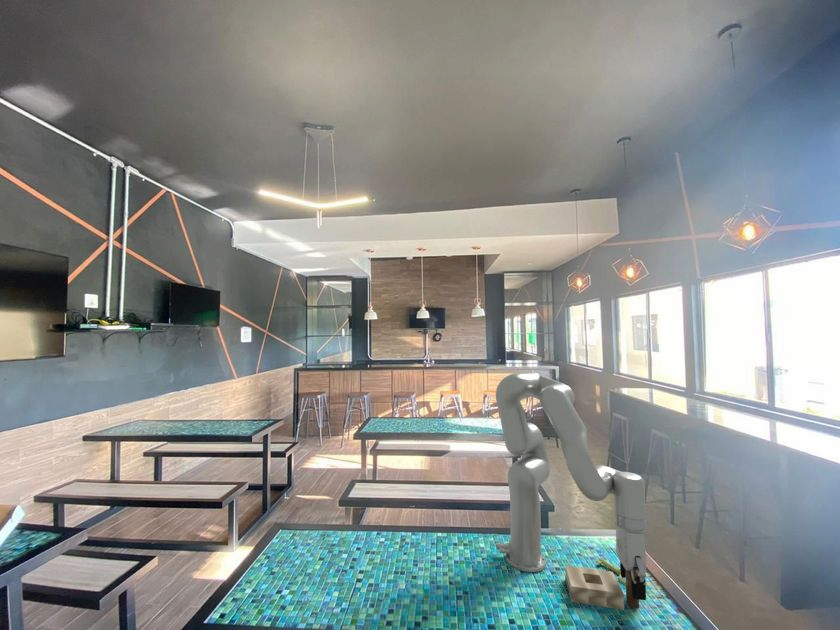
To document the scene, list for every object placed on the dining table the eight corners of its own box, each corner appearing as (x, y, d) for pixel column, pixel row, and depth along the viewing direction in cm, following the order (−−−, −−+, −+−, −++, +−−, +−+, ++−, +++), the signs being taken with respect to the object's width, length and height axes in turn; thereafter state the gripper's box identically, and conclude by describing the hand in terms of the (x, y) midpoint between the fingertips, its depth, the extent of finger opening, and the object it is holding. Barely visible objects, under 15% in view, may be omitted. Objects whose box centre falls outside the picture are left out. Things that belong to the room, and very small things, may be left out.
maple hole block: (571, 601, 100) (571, 586, 101) (565, 579, 110) (565, 565, 110) (624, 610, 98) (623, 593, 98) (613, 586, 107) (612, 571, 108)
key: (598, 563, 120) (598, 556, 120) (642, 579, 112) (642, 572, 112) (591, 573, 114) (591, 566, 114) (637, 591, 106) (637, 583, 106)
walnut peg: (628, 607, 99) (627, 567, 100) (624, 599, 102) (623, 561, 102) (640, 609, 98) (639, 569, 99) (636, 601, 101) (635, 563, 102)
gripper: (606, 506, 111) (608, 567, 109) (625, 534, 94) (628, 607, 92) (634, 509, 109) (636, 570, 108) (658, 538, 92) (661, 612, 91)
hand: (632, 587), depth 100 cm, fingers open, 8 cm apart
